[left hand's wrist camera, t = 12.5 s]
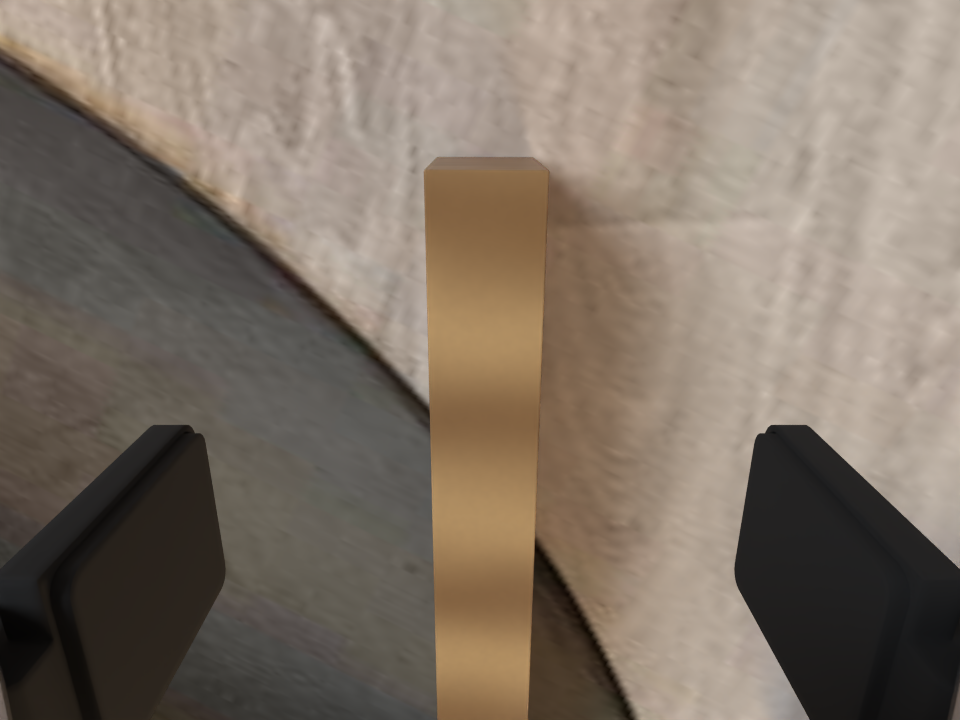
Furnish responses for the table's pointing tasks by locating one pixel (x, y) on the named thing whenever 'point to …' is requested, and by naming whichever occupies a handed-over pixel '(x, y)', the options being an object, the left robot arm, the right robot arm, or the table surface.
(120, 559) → the left robot arm
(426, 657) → the table surface
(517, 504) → the bar
